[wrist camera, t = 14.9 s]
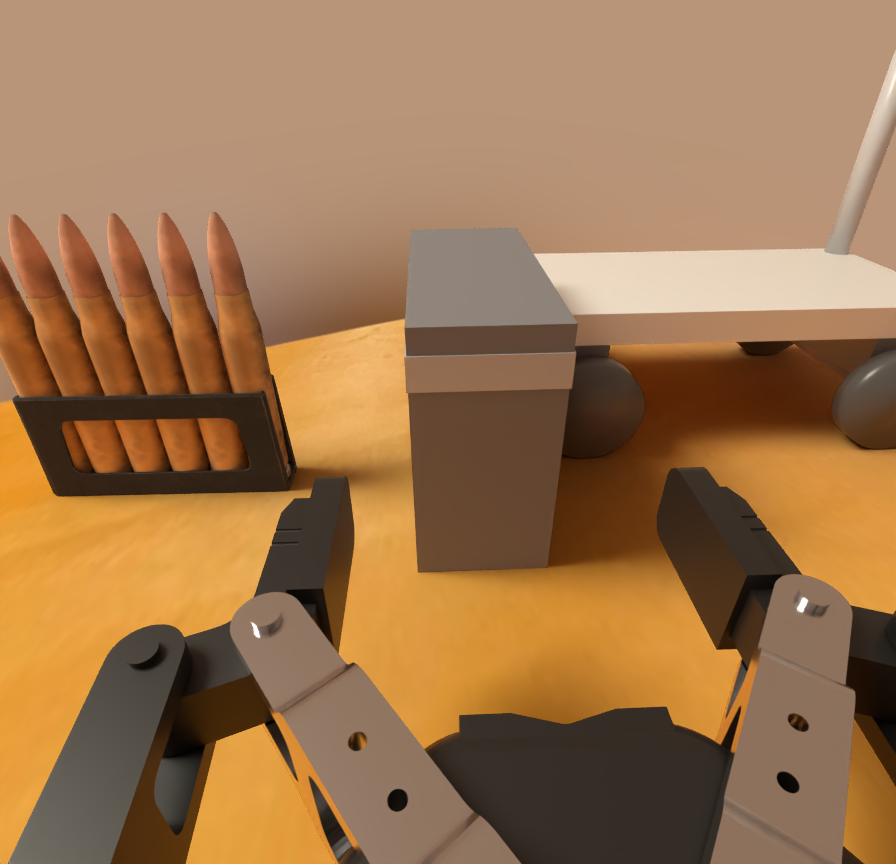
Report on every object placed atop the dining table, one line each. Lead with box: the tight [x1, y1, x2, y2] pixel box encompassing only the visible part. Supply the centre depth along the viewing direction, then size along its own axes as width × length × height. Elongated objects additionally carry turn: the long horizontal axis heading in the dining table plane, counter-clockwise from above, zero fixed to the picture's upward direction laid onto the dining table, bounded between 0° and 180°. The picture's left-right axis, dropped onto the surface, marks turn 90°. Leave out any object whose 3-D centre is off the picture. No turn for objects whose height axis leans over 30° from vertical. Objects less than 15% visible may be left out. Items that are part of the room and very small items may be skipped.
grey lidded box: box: [404, 228, 578, 572], centre depth 24 cm, size 5×12×10 cm, turn 2°
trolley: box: [534, 50, 896, 458], centre depth 28 cm, size 20×12×20 cm, turn 92°
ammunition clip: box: [0, 212, 297, 496], centre depth 23 cm, size 11×2×12 cm, turn 92°
